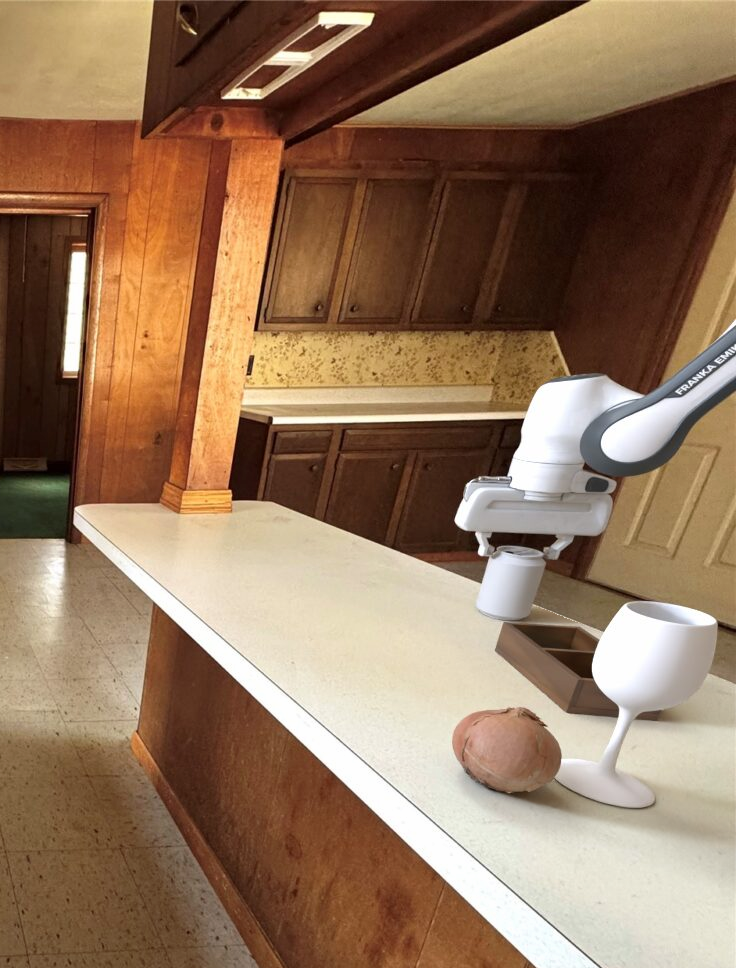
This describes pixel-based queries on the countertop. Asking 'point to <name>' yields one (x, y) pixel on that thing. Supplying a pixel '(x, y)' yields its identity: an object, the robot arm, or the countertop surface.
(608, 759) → the wineglass
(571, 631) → the wooden compartment tray
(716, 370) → the robot arm
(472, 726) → the onion
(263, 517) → the countertop surface
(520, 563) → the can
